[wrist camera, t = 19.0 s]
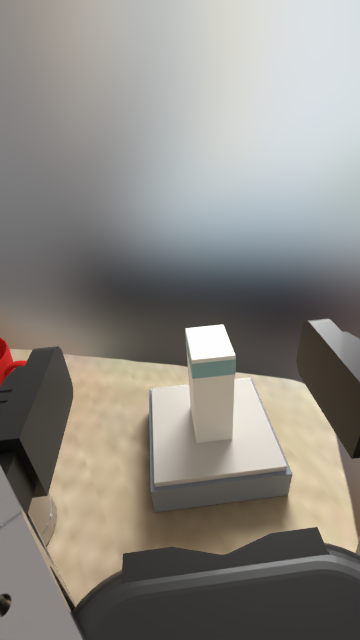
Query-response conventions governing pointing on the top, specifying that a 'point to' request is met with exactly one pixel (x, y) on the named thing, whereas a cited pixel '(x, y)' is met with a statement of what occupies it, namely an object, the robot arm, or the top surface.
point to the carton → (211, 382)
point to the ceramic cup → (7, 361)
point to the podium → (213, 453)
